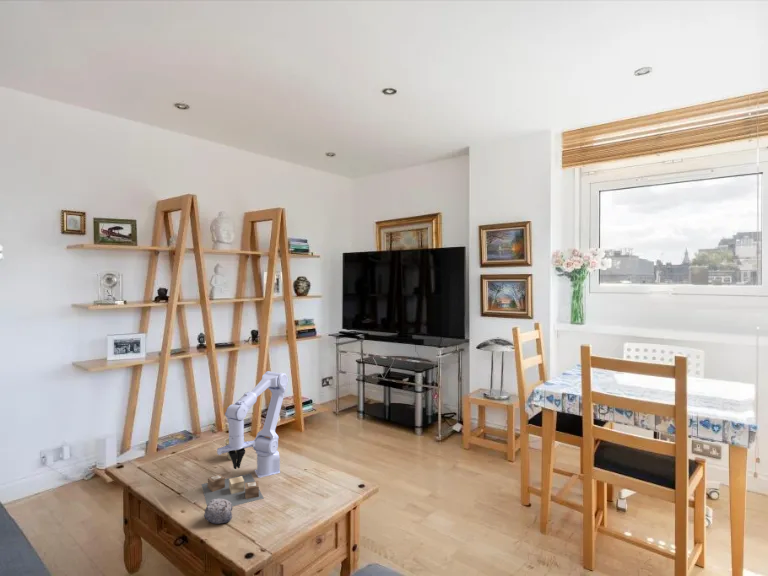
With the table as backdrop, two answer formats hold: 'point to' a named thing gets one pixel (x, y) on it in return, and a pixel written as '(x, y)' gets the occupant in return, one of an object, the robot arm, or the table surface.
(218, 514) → the pumice stone
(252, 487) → the walnut block
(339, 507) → the table surface
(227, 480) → the slate mat
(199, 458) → the table surface
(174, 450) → the table surface
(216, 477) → the walnut block
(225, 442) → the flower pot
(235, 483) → the plain block
